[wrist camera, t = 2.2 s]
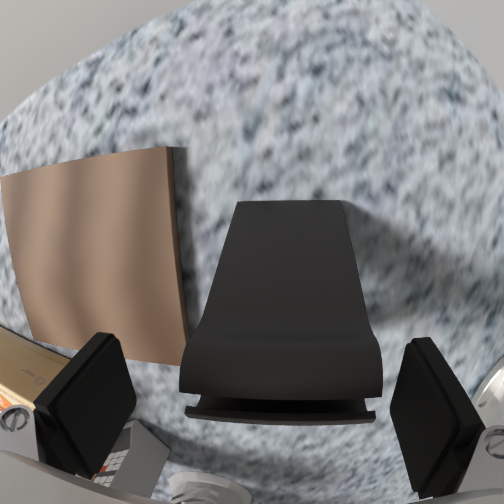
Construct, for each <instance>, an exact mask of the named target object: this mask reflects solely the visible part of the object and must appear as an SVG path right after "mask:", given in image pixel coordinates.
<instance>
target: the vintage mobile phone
mask: <svg viewBox="0 0 504 504" xmlns="http://www.w3.org/2000/svg"><path fill="white" fill-rule="evenodd" d="M169 453H170V450H169V448H168V447H167V446H166V445H165V444H163V443H162V442H161V441H160V440H159V439H158V438H157V437H156V436H154V435H153V434H152V433H151V432H150V431H149V430H148V429H147V428H146V427H145V426H144V425H142V424H141V423H140V422H139V421H138V420H136V419H135V420H132V421H130V422H127V423H126V424H125V426H124V428H123V430H122V431H121V433H120V435H119V437H118V439H117V440H116V442H115V444H114V446H113V448H112V450H111V451H110V453H109V455H108V457H107V459H106V461H105V463H104V464H103V466H102V468H101V470H100V472H99V473H97V474H96V475H95V477H94V479H93V480H92V482H94V483H97V484H100V485H103V486H106V487H110V488H113V489H116V490H119V491H123V492H126V493H130V494H134V495H138V496H142V497H146V498H150V497H151V495H152V493H153V490H154V488H155V486H156V483H157V481H158V479H159V476H160V474H161V472H162V469H163V467H164V465H165V462H166V460H167V458H168V455H169Z"/></svg>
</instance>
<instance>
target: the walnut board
mask: <svg viewBox="0 0 504 504" xmlns="http://www.w3.org/2000/svg"><path fill="white" fill-rule="evenodd" d="M0 180H1V191H2V201H3V209H4V217H5V224H6V230H7V236H8V242H9V247H10V253H11V258H12V262H13V267H14V272H15V276H16V280H17V284H18V288H19V292H20V296H21V299H22V303H23V307H24V310H25V313H26V317H27V320H28V323H29V326H30V329H31V332H32V335H33V338H34V340H37V341H41V342H45V343H49V344H53V345H58V346H62V347H67V348H71V349H76V350H81V348H82V347H83V346H84V345H85V344H86V343H87V342H88V341H89V340H90V339H91V338H92V337H93V336H94V335H95V334H96V333H97V332H105V333H112V334H114V335H115V336H116V338H118V339H119V340H120V343H121V347H122V351H123V354H124V358H125V359H131V360H138V361H145V362H152V363H160V364H168V365H176V366H181V360H182V356H183V352H184V349H185V346H186V343H187V341H188V339H189V338H190V334H189V326H188V319H187V311H186V304H185V295H184V287H183V278H182V269H181V260H180V250H179V239H178V228H177V216H176V203H175V188H174V172H173V153H172V147H168V146H165V147H157V148H148V149H141V150H133V151H126V152H119V153H113V154H107V155H100V156H95V157H89V158H83V159H78V160H73V161H68V162H63V163H58V164H53V165H48V166H44V167H39V168H35V169H31V170H27V171H22V172H18V173H14V174H11V175H7V176H3V177H0Z"/></svg>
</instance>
